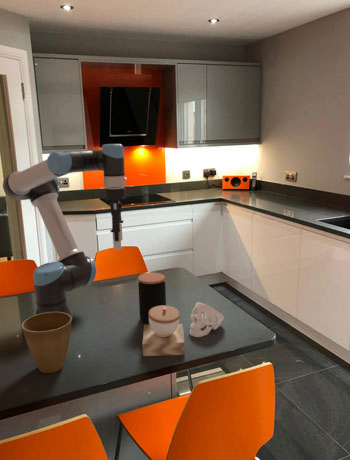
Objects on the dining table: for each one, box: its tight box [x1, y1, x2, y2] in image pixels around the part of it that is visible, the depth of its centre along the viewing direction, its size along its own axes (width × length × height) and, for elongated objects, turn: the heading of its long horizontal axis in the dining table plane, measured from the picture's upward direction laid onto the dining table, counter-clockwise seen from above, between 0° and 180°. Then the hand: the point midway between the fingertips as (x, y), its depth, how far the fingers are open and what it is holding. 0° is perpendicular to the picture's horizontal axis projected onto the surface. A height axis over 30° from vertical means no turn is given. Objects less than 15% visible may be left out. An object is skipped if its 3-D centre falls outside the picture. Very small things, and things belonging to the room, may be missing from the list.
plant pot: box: [21, 312, 73, 374], centre depth 128 cm, size 15×15×16 cm
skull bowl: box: [189, 301, 225, 338], centre depth 152 cm, size 10×14×12 cm
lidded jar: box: [149, 305, 181, 337], centre depth 139 cm, size 11×11×9 cm
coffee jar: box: [137, 272, 167, 325], centre depth 160 cm, size 11×11×18 cm
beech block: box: [141, 323, 186, 357], centre depth 141 cm, size 14×14×5 cm
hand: (118, 244), depth 149 cm, fingers open, 13 cm apart
